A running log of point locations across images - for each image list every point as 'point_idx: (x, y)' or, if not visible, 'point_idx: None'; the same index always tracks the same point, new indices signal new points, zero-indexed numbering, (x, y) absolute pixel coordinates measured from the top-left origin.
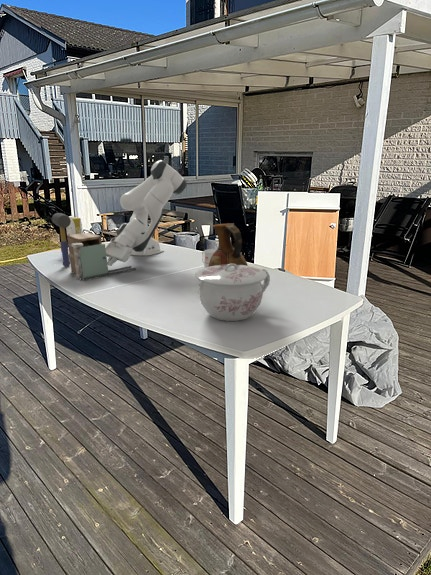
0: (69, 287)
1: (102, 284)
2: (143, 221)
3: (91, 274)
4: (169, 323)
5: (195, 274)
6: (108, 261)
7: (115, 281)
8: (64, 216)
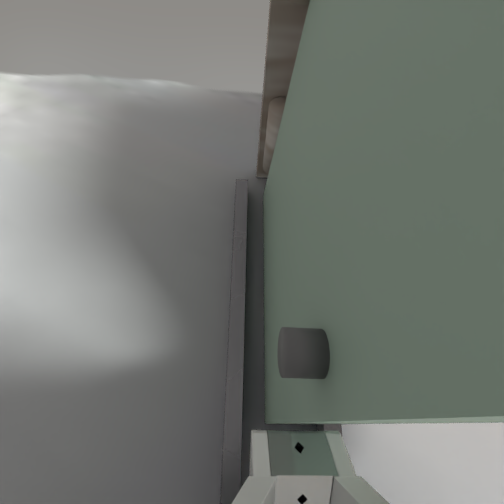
0: (174, 98)
1: (46, 225)
2: None
3: (267, 237)
4: None
5: None
6: (325, 468)
7: (2, 335)
8: None
